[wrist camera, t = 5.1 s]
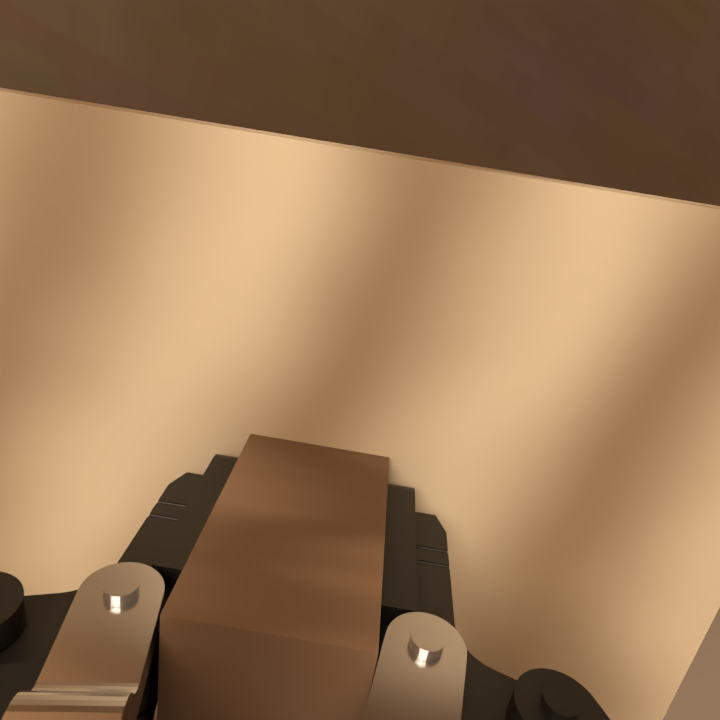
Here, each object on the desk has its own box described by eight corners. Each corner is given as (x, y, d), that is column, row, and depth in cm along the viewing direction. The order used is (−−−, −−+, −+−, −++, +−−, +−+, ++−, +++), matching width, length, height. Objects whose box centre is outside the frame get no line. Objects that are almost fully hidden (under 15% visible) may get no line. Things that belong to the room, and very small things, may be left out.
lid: (865, 230, 11) (1316, 340, 6) (614, 754, 17) (714, 1064, 11) (-123, 67, 11) (-627, 19, 6) (-38, 639, 17) (-252, 888, 12)
